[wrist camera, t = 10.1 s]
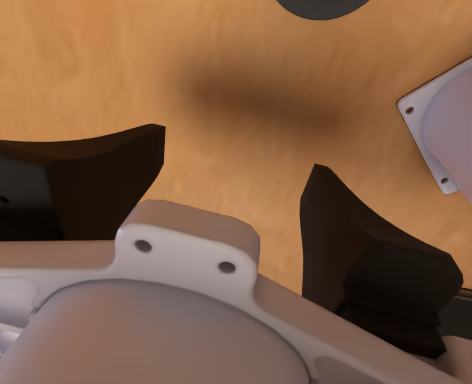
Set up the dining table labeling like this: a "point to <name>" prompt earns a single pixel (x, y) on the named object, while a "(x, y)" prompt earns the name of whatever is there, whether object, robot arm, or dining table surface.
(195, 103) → the dining table surface
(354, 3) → the coaster
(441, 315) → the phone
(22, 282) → the robot arm
